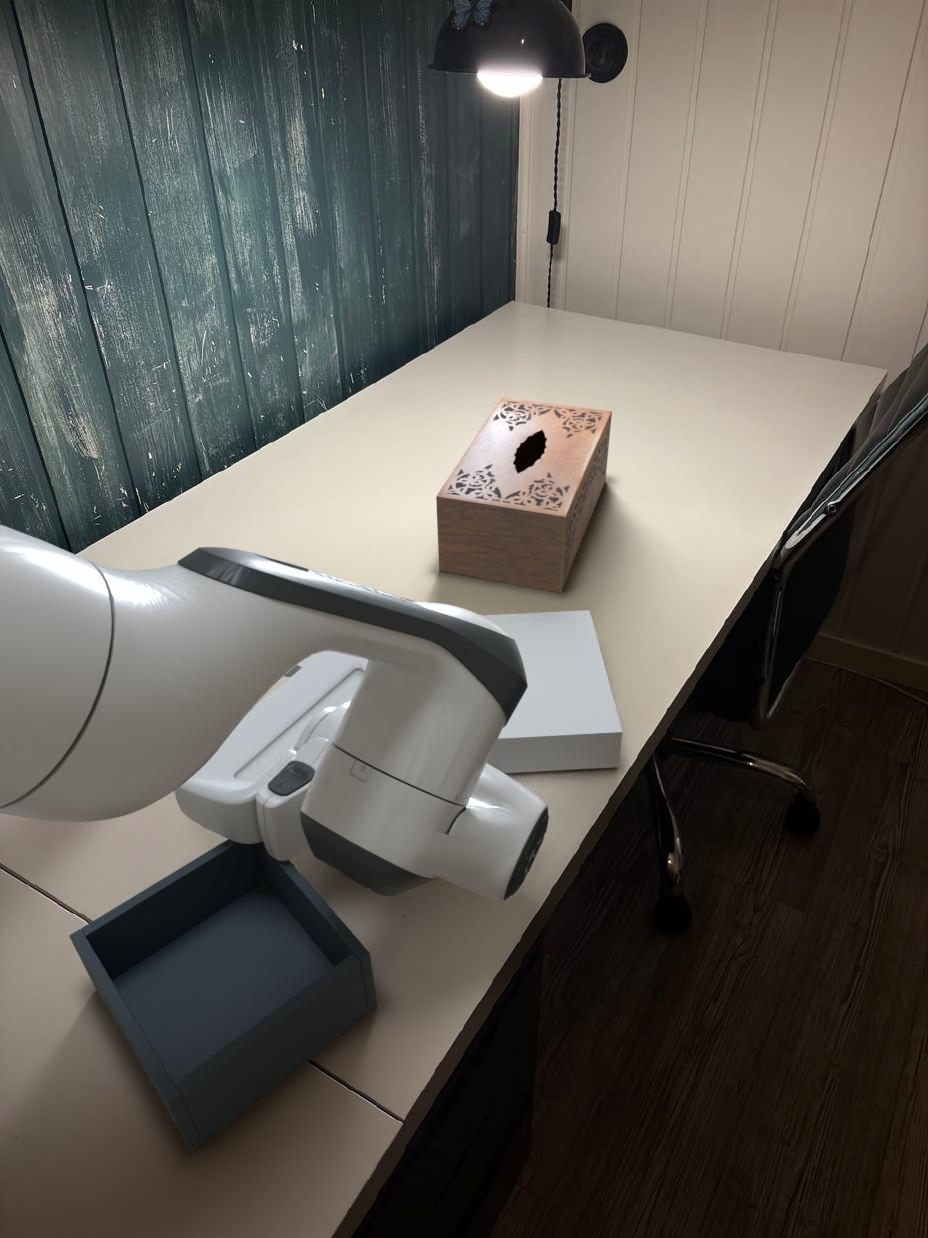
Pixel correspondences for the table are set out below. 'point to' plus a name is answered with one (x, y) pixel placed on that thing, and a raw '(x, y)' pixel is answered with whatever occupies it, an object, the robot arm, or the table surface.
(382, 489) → the table surface
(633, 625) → the table surface
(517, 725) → the disc drive
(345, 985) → the bin
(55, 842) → the table surface
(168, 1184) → the table surface
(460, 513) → the tissue box cover
